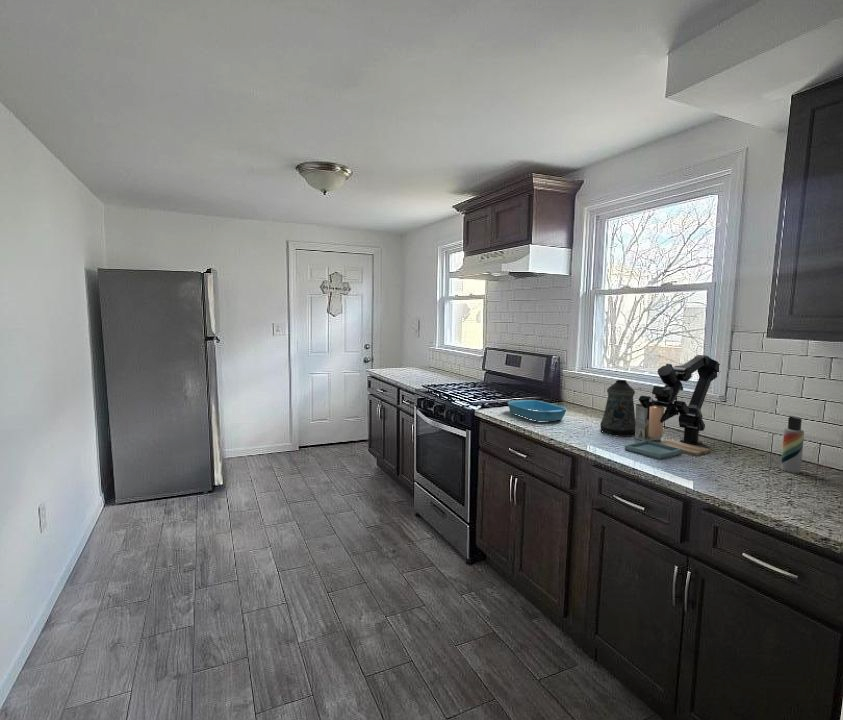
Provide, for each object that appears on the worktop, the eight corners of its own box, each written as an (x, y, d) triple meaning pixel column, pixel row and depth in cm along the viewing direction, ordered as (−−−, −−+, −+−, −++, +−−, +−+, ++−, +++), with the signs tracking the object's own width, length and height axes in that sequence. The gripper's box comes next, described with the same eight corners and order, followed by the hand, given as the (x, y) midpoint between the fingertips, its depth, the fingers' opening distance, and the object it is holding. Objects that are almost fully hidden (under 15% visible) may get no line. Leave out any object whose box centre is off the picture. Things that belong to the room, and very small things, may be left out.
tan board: (670, 442, 208) (670, 439, 207) (710, 452, 193) (710, 449, 193) (655, 446, 202) (655, 443, 202) (696, 456, 187) (696, 453, 187)
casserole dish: (500, 412, 272) (500, 400, 271) (533, 409, 280) (533, 398, 279) (538, 426, 237) (538, 412, 237) (574, 423, 246) (574, 409, 245)
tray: (646, 444, 203) (646, 440, 203) (681, 453, 191) (681, 448, 190) (624, 450, 195) (625, 445, 195) (659, 459, 183) (660, 454, 182)
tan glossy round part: (659, 434, 194) (661, 406, 193) (664, 438, 189) (666, 408, 188) (646, 434, 194) (647, 405, 193) (650, 437, 189) (652, 408, 188)
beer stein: (602, 435, 219) (604, 382, 217) (597, 425, 238) (599, 377, 236) (640, 437, 216) (643, 383, 213) (632, 428, 234) (634, 378, 232)
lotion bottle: (781, 467, 174) (785, 414, 172) (800, 470, 171) (805, 416, 169) (780, 471, 170) (784, 416, 168) (800, 474, 166) (805, 419, 164)
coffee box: (650, 436, 217) (652, 402, 216) (661, 440, 211) (663, 405, 210) (634, 438, 215) (635, 403, 213) (644, 441, 209) (646, 406, 207)
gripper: (642, 376, 199) (625, 404, 194) (686, 381, 184) (670, 412, 179) (651, 392, 204) (635, 421, 199) (696, 399, 189) (680, 430, 184)
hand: (654, 420), depth 190 cm, fingers closed on tan glossy round part, 5 cm apart
